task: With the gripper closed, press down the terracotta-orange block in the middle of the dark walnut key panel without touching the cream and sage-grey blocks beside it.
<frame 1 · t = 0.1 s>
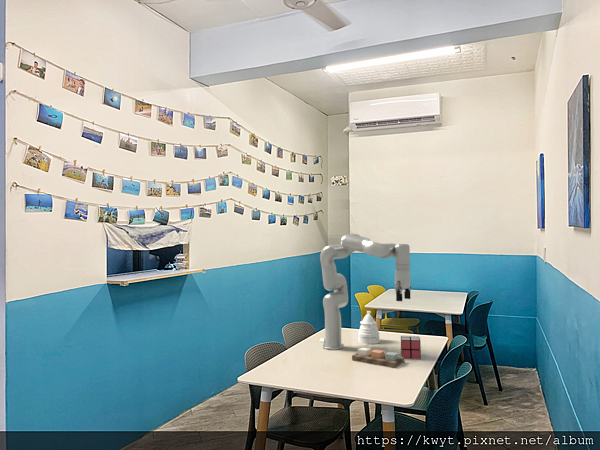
hand: (403, 300, 240), 31 cm above the table, tool pointing down, fingers open, 9 cm apart
button sage: (391, 356, 232), point 4 cm above the table, slide at 0.0 cm
button cream: (364, 351, 242), point 4 cm above the table, slide at 0.0 cm
key panel: (378, 361, 237), on the table
honey pot: (368, 341, 280), on the table
button terracotta: (377, 354, 237), point 4 cm above the table, slide at 0.0 cm
puzzle cube: (410, 356, 245), on the table
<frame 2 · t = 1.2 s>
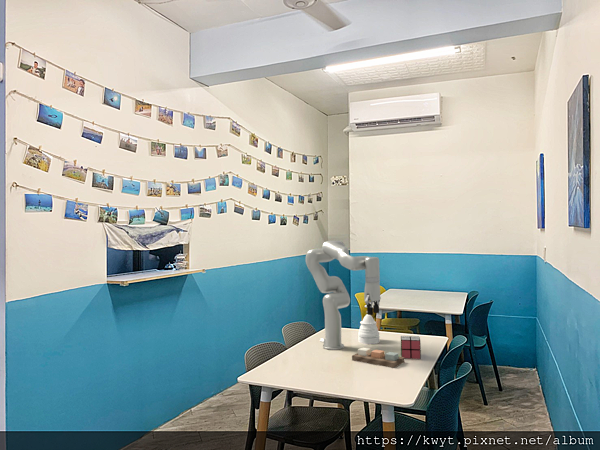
hand: (373, 313, 245), 24 cm above the table, tool pointing down, fingers open, 5 cm apart
nothing on the table moved.
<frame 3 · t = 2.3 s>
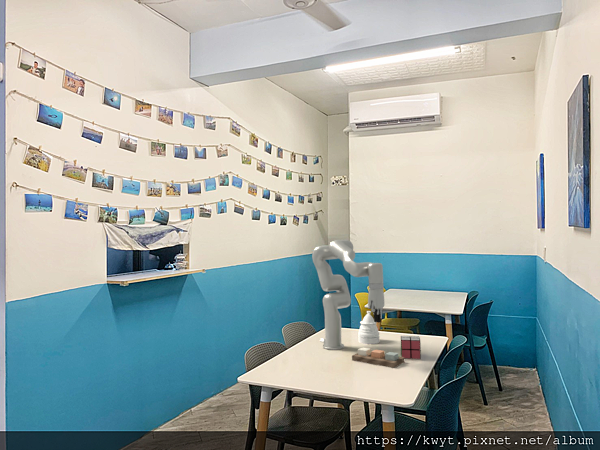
hand: (377, 322, 238), 20 cm above the table, tool pointing down, fingers closed
nothing on the table moved.
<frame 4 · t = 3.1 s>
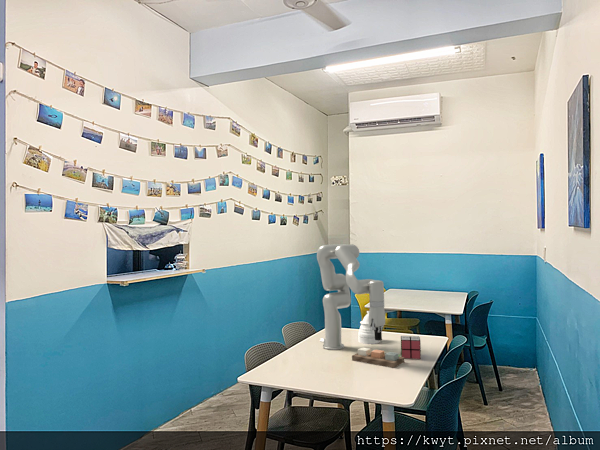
hand: (378, 339, 237), 11 cm above the table, tool pointing down, fingers closed
nothing on the table moved.
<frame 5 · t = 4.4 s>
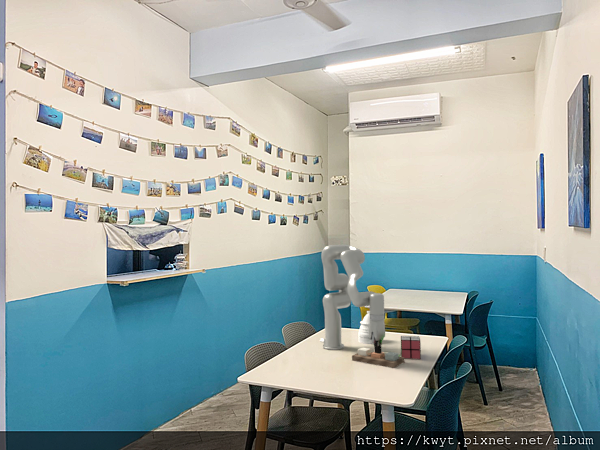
hand: (377, 352, 237), 4 cm above the table, tool pointing down, fingers closed
button terracotta: (377, 355, 237), point 3 cm above the table, slide at 0.8 cm
everything else where it was.
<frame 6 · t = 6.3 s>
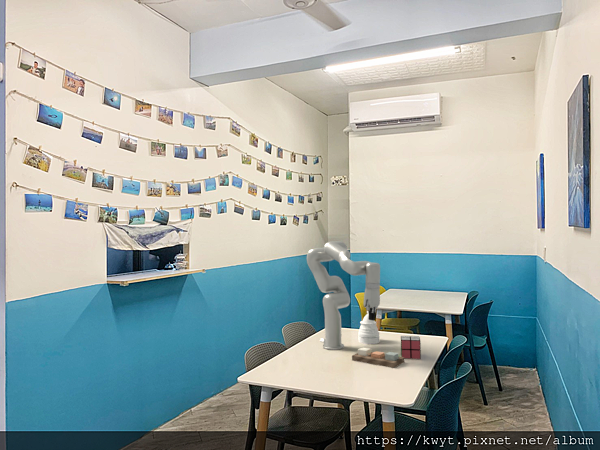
hand: (371, 319, 245), 20 cm above the table, tool pointing down, fingers closed
nothing on the table moved.
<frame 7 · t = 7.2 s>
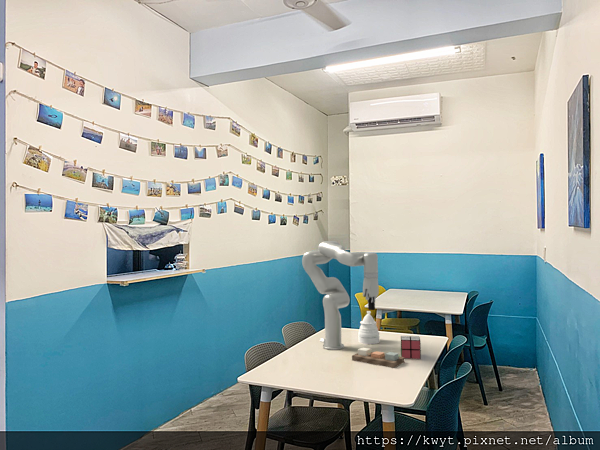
hand: (371, 309, 247), 25 cm above the table, tool pointing down, fingers closed
nothing on the table moved.
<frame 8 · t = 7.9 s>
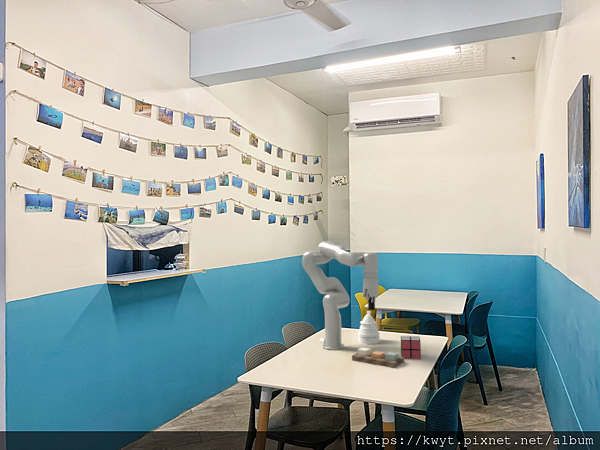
hand: (371, 309, 247), 25 cm above the table, tool pointing down, fingers closed
nothing on the table moved.
at the end: button terracotta slide at 0.9 cm; button cream slide at 0.0 cm; button sage slide at 0.0 cm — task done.
